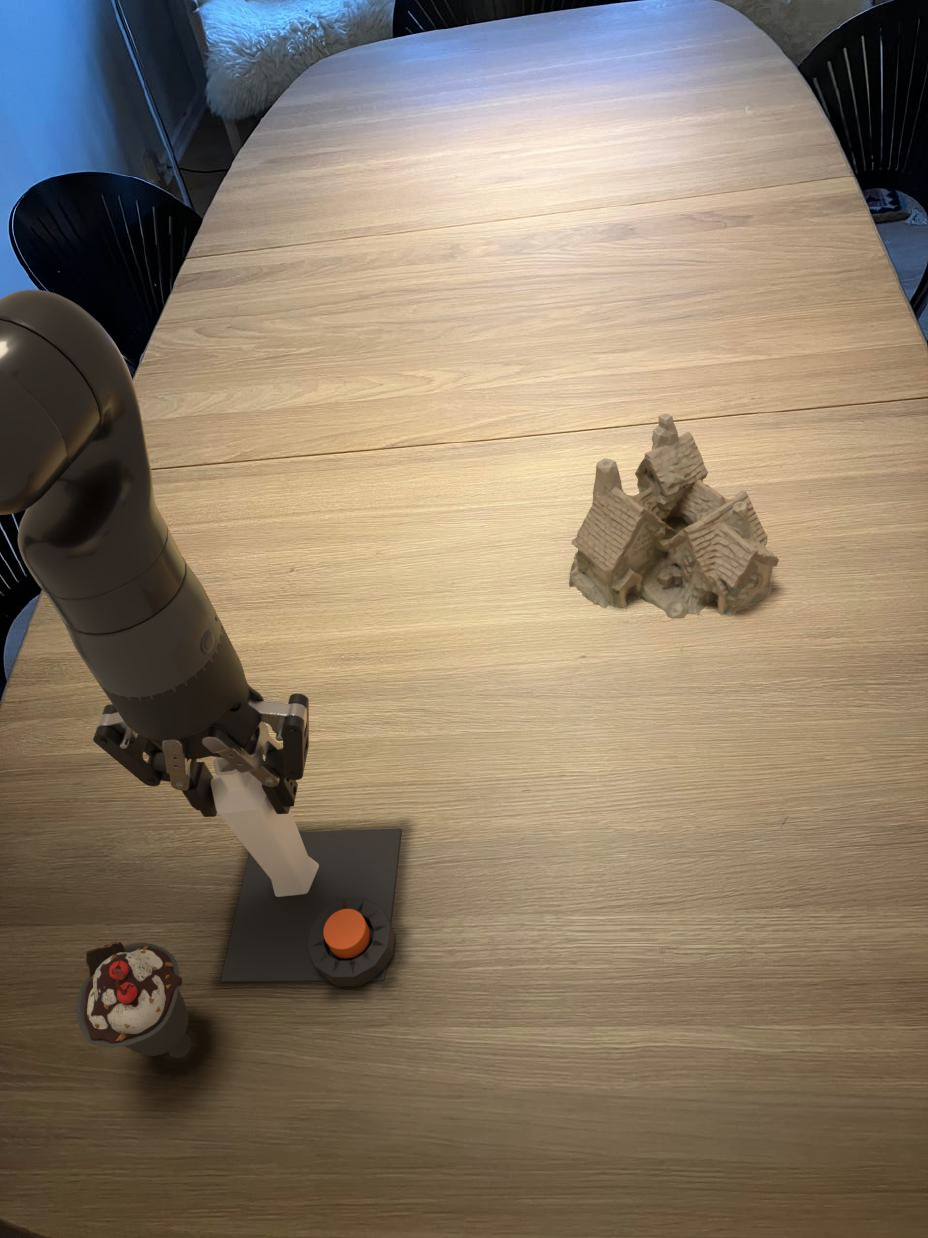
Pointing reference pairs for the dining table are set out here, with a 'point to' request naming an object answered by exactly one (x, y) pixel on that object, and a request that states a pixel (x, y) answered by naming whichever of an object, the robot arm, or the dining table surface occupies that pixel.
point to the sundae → (134, 1000)
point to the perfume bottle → (263, 829)
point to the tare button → (346, 933)
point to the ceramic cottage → (670, 536)
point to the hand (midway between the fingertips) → (249, 803)
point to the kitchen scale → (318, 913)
